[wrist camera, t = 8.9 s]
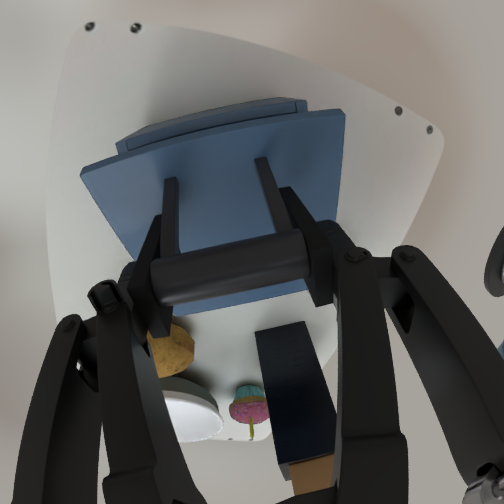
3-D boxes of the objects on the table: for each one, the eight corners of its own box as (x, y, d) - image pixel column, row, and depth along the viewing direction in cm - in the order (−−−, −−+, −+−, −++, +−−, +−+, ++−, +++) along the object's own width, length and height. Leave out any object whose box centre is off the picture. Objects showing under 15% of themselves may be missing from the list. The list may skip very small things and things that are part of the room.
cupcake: (219, 387, 52) (223, 441, 42) (260, 374, 51) (270, 430, 41) (239, 405, 56) (244, 454, 46) (276, 393, 56) (286, 443, 45)
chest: (143, 127, 28) (114, 143, 20) (279, 97, 28) (306, 99, 20) (183, 257, 37) (176, 310, 28) (298, 233, 37) (323, 279, 28)
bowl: (224, 408, 57) (227, 441, 50) (141, 409, 55) (137, 440, 48) (217, 357, 47) (219, 397, 40) (113, 358, 45) (104, 395, 38)
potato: (186, 401, 38) (196, 370, 33) (98, 379, 36) (92, 344, 31) (191, 350, 46) (202, 315, 41) (113, 331, 43) (113, 292, 38)
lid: (82, 167, 14) (40, 293, 9) (339, 108, 14) (424, 210, 9) (176, 309, 28) (182, 391, 23) (323, 278, 28) (349, 357, 23)
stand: (304, 320, 45) (347, 447, 26) (307, 357, 50) (340, 467, 31) (254, 331, 45) (278, 464, 26) (263, 367, 50) (285, 481, 31)
